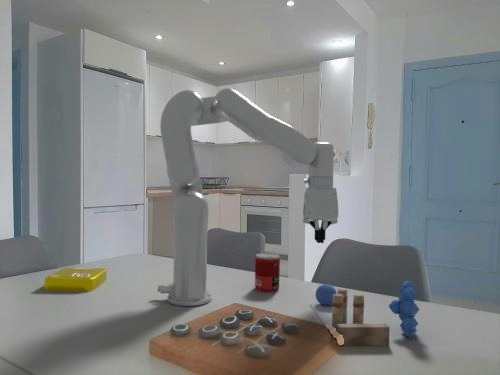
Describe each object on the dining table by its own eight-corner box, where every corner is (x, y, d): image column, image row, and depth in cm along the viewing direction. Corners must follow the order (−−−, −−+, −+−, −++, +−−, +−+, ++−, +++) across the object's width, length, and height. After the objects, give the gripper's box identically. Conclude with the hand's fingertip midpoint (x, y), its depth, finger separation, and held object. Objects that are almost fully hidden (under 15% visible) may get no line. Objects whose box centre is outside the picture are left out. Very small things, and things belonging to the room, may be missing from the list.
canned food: (277, 293, 120) (278, 258, 120) (252, 291, 122) (253, 256, 122) (280, 286, 128) (281, 253, 127) (257, 284, 129) (257, 252, 129)
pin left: (333, 333, 88) (334, 296, 88) (330, 329, 91) (331, 293, 91) (343, 333, 88) (344, 296, 88) (340, 329, 91) (341, 293, 91)
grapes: (386, 322, 96) (387, 275, 96) (415, 326, 94) (416, 277, 94) (389, 340, 85) (390, 286, 85) (422, 344, 83) (424, 289, 83)
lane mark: (334, 339, 85) (334, 338, 85) (310, 304, 109) (310, 304, 109) (373, 339, 85) (373, 338, 85) (341, 304, 109) (341, 304, 109)
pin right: (354, 333, 89) (355, 296, 88) (350, 329, 91) (351, 293, 91) (365, 333, 89) (365, 296, 89) (361, 329, 91) (362, 293, 91)
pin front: (338, 326, 93) (339, 291, 93) (335, 322, 95) (336, 288, 95) (348, 326, 93) (349, 291, 93) (345, 322, 96) (345, 288, 95)
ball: (318, 308, 105) (318, 287, 105) (313, 302, 111) (313, 281, 111) (339, 308, 106) (340, 287, 106) (333, 302, 112) (333, 281, 112)
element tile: (108, 280, 132) (108, 266, 132) (91, 293, 117) (91, 277, 117) (64, 280, 132) (64, 266, 132) (41, 292, 117) (42, 276, 117)
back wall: (338, 345, 81) (339, 327, 81) (336, 342, 83) (336, 323, 83) (389, 345, 82) (389, 327, 82) (385, 341, 84) (385, 323, 84)
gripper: (299, 182, 114) (298, 244, 114) (348, 183, 115) (347, 244, 115) (294, 182, 121) (293, 240, 121) (340, 183, 122) (339, 240, 122)
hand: (319, 242), depth 118 cm, fingers closed
